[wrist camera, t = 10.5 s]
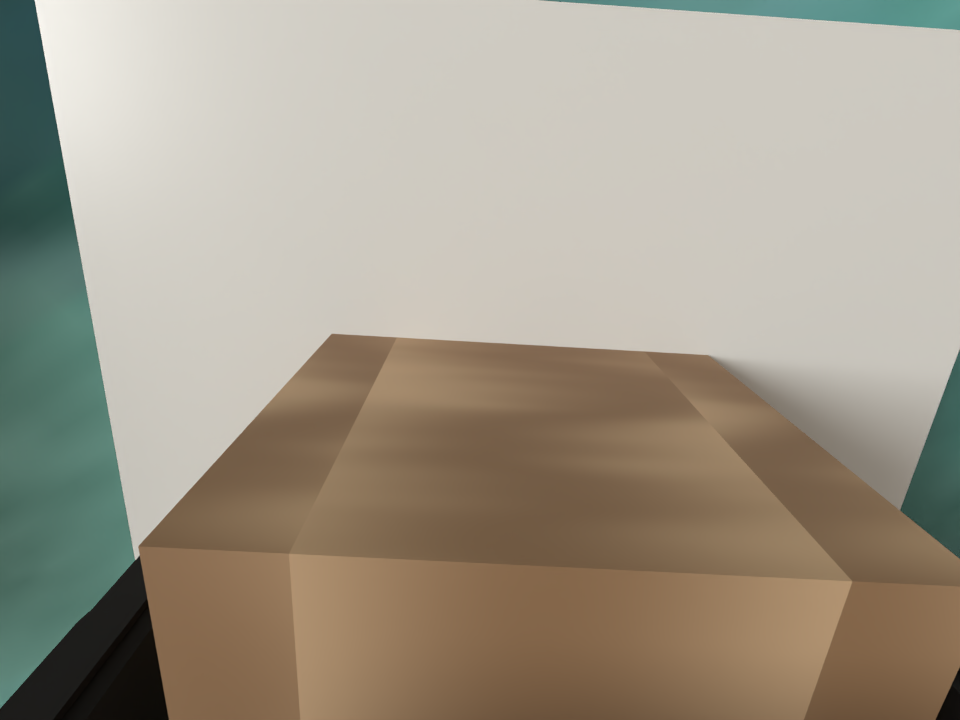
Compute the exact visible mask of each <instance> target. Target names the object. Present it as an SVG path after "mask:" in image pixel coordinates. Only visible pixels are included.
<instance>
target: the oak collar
mask: <svg viewBox="0 0 960 720" xmlns="http://www.w3.org/2000/svg"><path fill="white" fill-rule="evenodd" d="M138 548H139V554H140V560H141V565H142V571H143V576H144V582H145V588H146V593H147V599H148V605H149V610H150V616H151V621H152V627H153V633H154V638H155V644H156V650H157V655H158V661H159V666H160V672H161V678H162V683H163V689H164V695H165V700H166V706H167V711H168V717H169V720H936V717H937V715H938V713H939V711H940V709H941V707H942V704H943V702H944V700H945V698H946V696H947V694H948V691H949V689H950V687H951V685H952V683H953V681H954V678H955V676H956V674H957V672H958V670H959V667H960V559H959V558H958V557H957V556H955V555H954V554H953V553H952V552H950V551H949V550H948V549H947V548H946V547H944V546H943V545H942V544H941V543H939V542H938V541H937V540H936V539H934V538H933V537H932V536H931V535H929V534H928V533H927V532H926V531H925V530H923V529H922V528H921V527H920V526H918V525H917V524H916V523H915V522H913V521H912V520H911V519H910V518H909V517H907V516H906V515H905V514H904V513H902V512H901V511H900V510H899V509H897V508H896V507H895V506H894V505H892V504H891V503H890V502H889V501H888V500H886V499H885V498H884V497H883V496H881V495H880V494H879V493H878V492H876V491H875V490H874V489H873V488H872V487H870V486H869V485H868V484H867V483H865V482H864V481H863V480H862V479H860V478H859V477H858V476H857V475H855V474H854V473H853V472H852V471H851V470H849V469H848V468H847V467H846V466H844V465H843V464H842V463H841V462H839V461H838V460H837V459H836V458H834V457H833V456H832V455H831V454H830V453H828V452H827V451H826V450H825V449H823V448H822V447H821V446H820V445H818V444H817V443H816V442H815V441H814V440H812V439H811V438H810V437H809V436H807V435H806V434H805V433H804V432H802V431H801V430H800V429H799V428H797V427H796V426H795V425H794V424H793V423H791V422H790V421H789V420H788V419H786V418H785V417H784V416H783V415H781V414H780V413H779V412H778V411H777V410H775V409H774V408H773V407H772V406H770V405H769V404H768V403H767V402H765V401H764V400H763V399H762V398H760V397H759V396H758V395H757V394H756V393H754V392H753V391H752V390H751V389H749V388H748V387H747V386H746V385H744V384H743V383H742V382H741V381H739V380H738V379H737V378H736V377H735V376H733V375H732V374H731V373H730V372H728V371H727V370H726V369H725V368H723V367H722V366H721V365H720V364H719V363H717V362H716V361H715V360H714V359H712V358H711V357H710V356H709V355H699V354H681V353H663V352H646V351H628V350H610V349H593V348H575V347H557V346H540V345H522V344H504V343H487V342H469V341H452V340H434V339H416V338H399V337H381V336H363V335H346V334H331V335H330V336H329V337H328V338H327V339H326V341H325V342H324V343H323V344H322V345H321V346H320V347H319V348H318V349H317V350H316V352H315V353H314V354H313V355H312V356H311V357H310V358H309V359H308V360H307V361H306V363H305V364H304V365H303V366H302V367H301V368H300V369H299V370H298V371H297V372H296V373H295V375H294V376H293V377H292V378H291V379H290V380H289V381H288V382H287V383H286V384H285V386H284V387H283V388H282V389H281V390H280V391H279V392H278V393H277V394H276V395H275V397H274V398H273V399H272V400H271V401H270V402H269V403H268V404H267V405H266V406H265V408H264V409H263V410H262V411H261V412H260V413H259V414H258V415H257V416H256V417H255V419H254V420H253V421H252V422H251V423H250V424H249V425H248V426H247V427H246V428H245V430H244V431H243V432H242V433H241V434H240V435H239V436H238V437H237V438H236V439H235V441H234V442H233V443H232V444H231V445H230V446H229V447H228V448H227V449H226V450H225V452H224V453H223V454H222V455H221V456H220V457H219V458H218V459H217V460H216V461H215V463H214V464H213V465H212V466H211V467H210V468H209V469H208V470H207V471H206V472H205V473H204V475H203V476H202V477H201V478H200V479H199V480H198V481H197V482H196V483H195V484H194V486H193V487H192V488H191V489H190V490H189V491H188V492H187V493H186V494H185V495H184V497H183V498H182V499H181V500H180V501H179V502H178V503H177V504H176V505H175V506H174V508H173V509H172V510H171V511H170V512H169V513H168V514H167V515H166V516H165V517H164V519H163V520H162V521H161V522H160V523H159V524H158V525H157V526H156V527H155V528H154V530H153V531H152V532H151V533H150V534H149V535H148V536H147V537H146V538H145V539H144V541H143V542H142V543H141V544H140V545H139V546H138Z"/></svg>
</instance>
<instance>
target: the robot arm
mask: <svg viewBox="0 0 960 720" xmlns="http://www.w3.org/2000/svg"><path fill="white" fill-rule="evenodd" d="M0 720H169V717H168V711H167V706H166V700H165V695H164V689H163V683H162V678H161V672H160V666H159V661H158V655H157V650H156V644H155V638H154V633H153V627H152V621H151V616H150V610H149V605H148V599H147V593H146V588H145V582H144V576H143V571H142V565H141V560H140V556H139V557H138V558H137V559H136V560H135V561H134V562H133V564H132V565H131V566H130V567H129V568H128V569H127V570H126V572H125V573H124V574H123V575H122V576H121V577H120V578H119V579H118V581H117V582H116V583H115V584H114V585H113V586H112V587H111V588H110V590H109V591H108V592H107V593H106V594H105V595H104V596H103V598H102V599H101V600H100V601H99V602H98V603H97V604H96V605H95V607H94V608H93V609H92V610H91V611H90V612H88V613H87V614H86V615H85V616H84V617H83V618H81V619H80V620H79V621H78V622H77V623H76V624H75V626H74V627H73V628H72V629H71V630H70V631H69V632H68V633H67V635H66V636H65V637H64V638H63V639H62V640H61V641H60V642H59V644H58V645H57V646H56V647H55V648H54V649H53V650H52V651H51V653H50V654H49V655H48V656H47V657H46V658H45V659H44V660H43V662H42V663H41V664H40V665H39V666H38V667H37V668H36V669H35V670H34V672H33V673H32V674H31V675H30V676H29V677H28V678H27V679H26V681H25V682H24V683H23V684H22V685H21V686H20V687H19V688H18V690H17V691H16V692H15V693H14V694H13V695H12V696H11V697H10V699H9V700H8V701H7V702H6V703H5V704H4V705H3V706H2V708H1V709H0ZM936 720H960V667H959V670H958V672H957V674H956V676H955V678H954V681H953V683H952V685H951V687H950V689H949V691H948V694H947V696H946V698H945V700H944V702H943V704H942V707H941V709H940V711H939V713H938V715H937V717H936Z"/></svg>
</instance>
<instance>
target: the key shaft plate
mask: <svg viewBox="0 0 960 720" xmlns="http://www.w3.org/2000/svg"><path fill="white" fill-rule="evenodd" d="M35 4H36V10H37V15H38V21H39V26H40V32H41V37H42V43H43V49H44V54H45V60H46V65H47V71H48V76H49V82H50V88H51V93H52V99H53V104H54V110H55V115H56V121H57V127H58V132H59V138H60V143H61V149H62V154H63V160H64V166H65V171H66V177H67V182H68V188H69V193H70V199H71V205H72V210H73V216H74V221H75V227H76V233H77V238H78V244H79V249H80V255H81V260H82V266H83V272H84V277H85V283H86V288H87V294H88V299H89V305H90V311H91V316H92V322H93V327H94V333H95V338H96V344H97V350H98V355H99V361H100V366H101V372H102V377H103V383H104V389H105V394H106V400H107V405H108V411H109V416H110V422H111V428H112V433H113V439H114V444H115V450H116V455H117V461H118V467H119V472H120V478H121V483H122V489H123V494H124V500H125V506H126V511H127V517H128V522H129V528H130V534H131V539H132V545H133V550H134V556H135V560H136V559H137V558H138V557H139V556H140V554H139V548H138V546H139V545H140V544H141V543H142V542H143V541H144V539H145V538H146V537H147V536H148V535H149V534H150V533H151V532H152V531H153V530H154V528H155V527H156V526H157V525H158V524H159V523H160V522H161V521H162V520H163V519H164V517H165V516H166V515H167V514H168V513H169V512H170V511H171V510H172V509H173V508H174V506H175V505H176V504H177V503H178V502H179V501H180V500H181V499H182V498H183V497H184V495H185V494H186V493H187V492H188V491H189V490H190V489H191V488H192V487H193V486H194V484H195V483H196V482H197V481H198V480H199V479H200V478H201V477H202V476H203V475H204V473H205V472H206V471H207V470H208V469H209V468H210V467H211V466H212V465H213V464H214V463H215V461H216V460H217V459H218V458H219V457H220V456H221V455H222V454H223V453H224V452H225V450H226V449H227V448H228V447H229V446H230V445H231V444H232V443H233V442H234V441H235V439H236V438H237V437H238V436H239V435H240V434H241V433H242V432H243V431H244V430H245V428H246V427H247V426H248V425H249V424H250V423H251V422H252V421H253V420H254V419H255V417H256V416H257V415H258V414H259V413H260V412H261V411H262V410H263V409H264V408H265V406H266V405H267V404H268V403H269V402H270V401H271V400H272V399H273V398H274V397H275V395H276V394H277V393H278V392H279V391H280V390H281V389H282V388H283V387H284V386H285V384H286V383H287V382H288V381H289V380H290V379H291V378H292V377H293V376H294V375H295V373H296V372H297V371H298V370H299V369H300V368H301V367H302V366H303V365H304V364H305V363H306V361H307V360H308V359H309V358H310V357H311V356H312V355H313V354H314V353H315V352H316V350H317V349H318V348H319V347H320V346H321V345H322V344H323V343H324V342H325V341H326V339H327V338H328V337H329V336H330V335H331V334H346V335H363V336H381V337H399V338H416V339H434V340H452V341H469V342H487V343H504V344H522V345H540V346H557V347H575V348H593V349H610V350H628V351H646V352H663V353H681V354H699V355H709V356H710V357H711V358H712V359H714V360H715V361H716V362H717V363H719V364H720V365H721V366H722V367H723V368H725V369H726V370H727V371H728V372H730V373H731V374H732V375H733V376H735V377H736V378H737V379H738V380H739V381H741V382H742V383H743V384H744V385H746V386H747V387H748V388H749V389H751V390H752V391H753V392H754V393H756V394H757V395H758V396H759V397H760V398H762V399H763V400H764V401H765V402H767V403H768V404H769V405H770V406H772V407H773V408H774V409H775V410H777V411H778V412H779V413H780V414H781V415H783V416H784V417H785V418H786V419H788V420H789V421H790V422H791V423H793V424H794V425H795V426H796V427H797V428H799V429H800V430H801V431H802V432H804V433H805V434H806V435H807V436H809V437H810V438H811V439H812V440H814V441H815V442H816V443H817V444H818V445H820V446H821V447H822V448H823V449H825V450H826V451H827V452H828V453H830V454H831V455H832V456H833V457H834V458H836V459H837V460H838V461H839V462H841V463H842V464H843V465H844V466H846V467H847V468H848V469H849V470H851V471H852V472H853V473H854V474H855V475H857V476H858V477H859V478H860V479H862V480H863V481H864V482H865V483H867V484H868V485H869V486H870V487H872V488H873V489H874V490H875V491H876V492H878V493H879V494H880V495H881V496H883V497H884V498H885V499H886V500H888V501H889V502H890V503H891V504H892V505H894V506H895V507H896V508H897V509H899V510H900V509H901V506H902V503H903V501H904V498H905V495H906V493H907V490H908V487H909V484H910V482H911V479H912V476H913V474H914V471H915V468H916V466H917V463H918V460H919V457H920V455H921V452H922V449H923V447H924V444H925V441H926V438H927V436H928V433H929V430H930V428H931V425H932V422H933V420H934V417H935V414H936V411H937V409H938V406H939V403H940V401H941V398H942V395H943V392H944V390H945V387H946V384H947V382H948V379H949V376H950V374H951V371H952V368H953V365H954V363H955V360H956V357H957V355H958V352H959V349H960V30H948V29H934V28H920V27H906V26H892V25H878V24H864V23H850V22H836V21H821V20H807V19H793V18H779V17H765V16H751V15H737V14H723V13H709V12H695V11H680V10H666V9H652V8H638V7H624V6H610V5H596V4H582V3H568V2H554V1H540V0H35Z"/></svg>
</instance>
